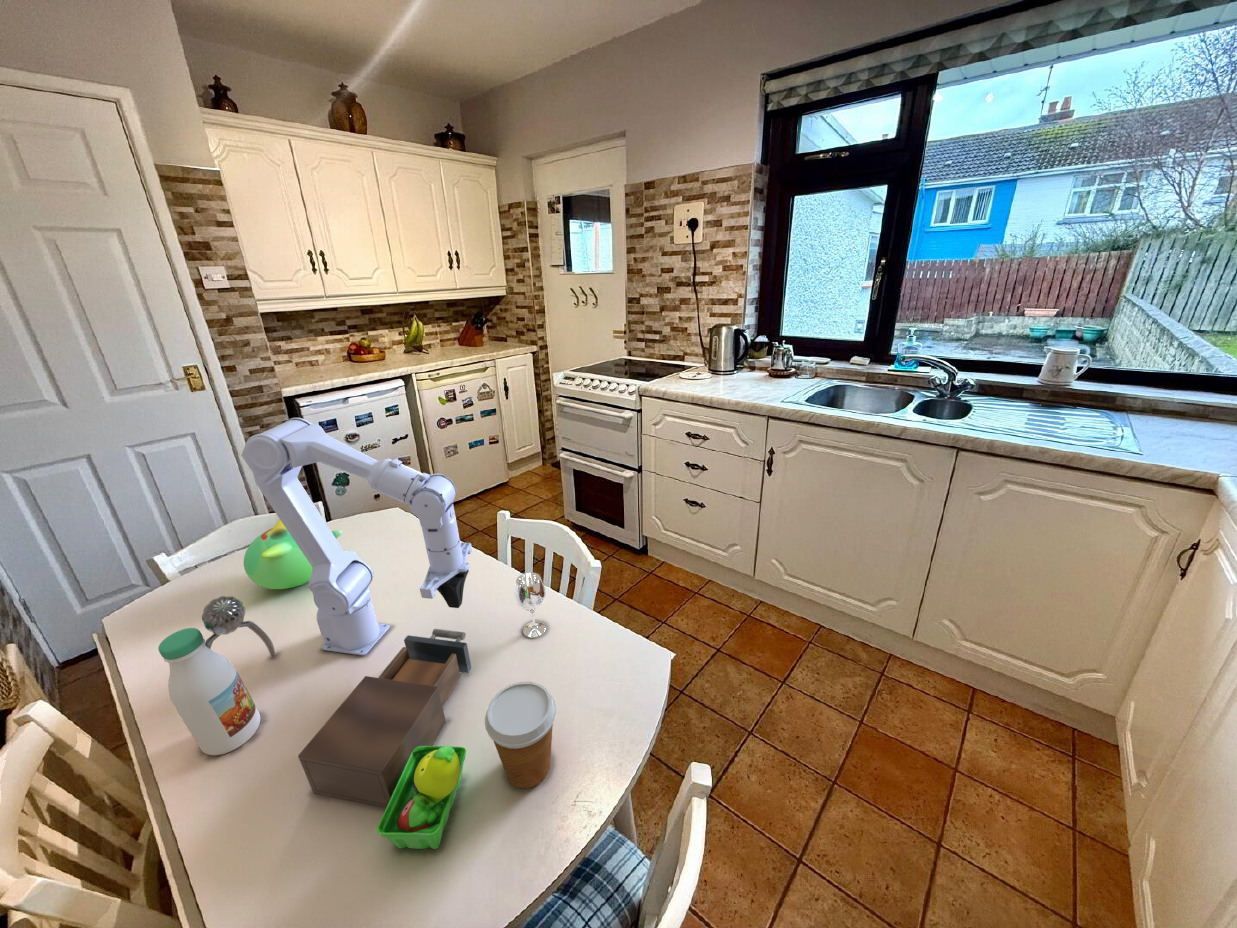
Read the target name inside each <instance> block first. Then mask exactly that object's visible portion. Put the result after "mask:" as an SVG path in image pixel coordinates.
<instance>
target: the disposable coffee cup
mask: <svg viewBox="0 0 1237 928" xmlns="http://www.w3.org/2000/svg"><path fill="white" fill-rule="evenodd" d="M556 714H557V705H556V701H555V699H554V697H553V696H552V695H551V692H549V691H548V689H547V688H546V687H544V686H543V685H542V684H540V683H537V682H534V681H525V680H524V681H517V682H514V683H512V684H509V685H506V686H505V687H504V688H502V689H501V690H499V691H498V692H497V693H496V694H494V696H493V697H492V698H491V700H490V702H489V704H488V708H487V710H486V712H485V716H484V726H485V731H486V733H487V735H488V737H489V738H490V739H491V740H492V741H493V743H494V746H495V749H496V751H497V754H498V756H499V760H500V762H501V765H502V767H503V769H504V772H505V775H506V778H507V780H508V781H509V782H510V784H511V785H512V786H514V787H515V788H518V789H531V788H534V787H536V786H538V785H539V784H540V783H542V782H543V781H544V780H545V779H546V778H547V776H548V774H549V772H550V769H551V758H552V741H553V740H552V739H553V727H554V722H555V719H556Z"/></svg>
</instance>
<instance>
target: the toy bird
mask: <svg viewBox="0 0 1237 928" xmlns="http://www.w3.org/2000/svg"><path fill="white" fill-rule="evenodd" d="M331 532H332V533H333V535H334V536H335V538H336V540H337V539H338V538H339V537H341V535H342V534H343V530H341V529H336V530H331ZM243 568H244V571H245V574H246V575H247V577H248V578H249V579H250V580H251V581H252V582H253V583H254V584H256V585H257V586H260V587H262V588H266V589H269V590H270V589H271V590H286V589H291V588H292V589H293V588H295V587H296V588H297V587H299V586H302V585H304V584H307V583H309V581H310V576H311V572H312V566H311V565H310V563H309V562H308V560H307V559H306V557H305V556H304V554H303V553H302V551H301V550H300V548H299V547H298V545H297V544H296V542H295V541H294V539H293V538H292V536H291V535H290V533H289V532H288V530H287V529H286V527H285V526H284V524H283V523H282V522H281V520H280V519H278V520H277V521H276V523H275V524H274V525H273V527H271V528H269V529H267V530H265V531H264V532H262V533H260V534H259V535H258V536H257V537H256V538H255V539H254V540H252V542H251V543H250V544H249V545H248V547H247V548H246V551H245V553H244V556H243Z"/></svg>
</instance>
